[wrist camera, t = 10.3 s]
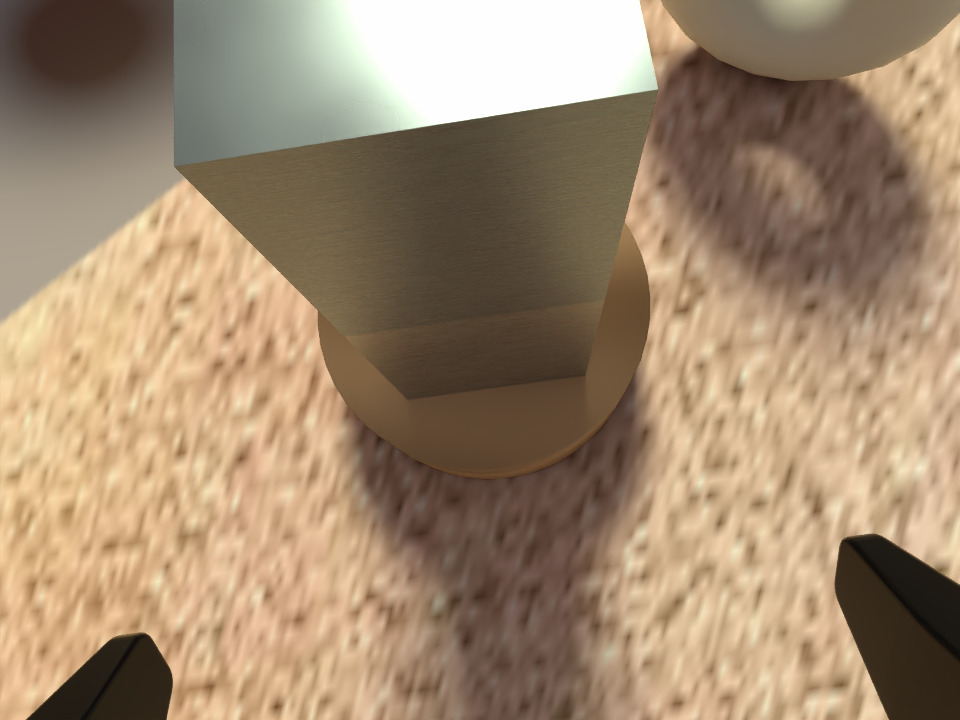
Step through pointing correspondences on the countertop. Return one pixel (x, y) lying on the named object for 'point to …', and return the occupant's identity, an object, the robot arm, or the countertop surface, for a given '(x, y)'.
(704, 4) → the donut
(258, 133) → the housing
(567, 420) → the pedestal
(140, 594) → the countertop surface
